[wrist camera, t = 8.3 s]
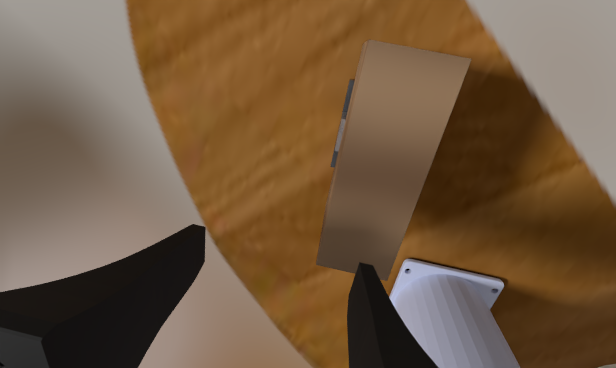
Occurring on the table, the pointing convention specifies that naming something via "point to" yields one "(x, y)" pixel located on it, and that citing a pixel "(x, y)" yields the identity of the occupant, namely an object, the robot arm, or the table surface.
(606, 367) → the cylinder with rectangular tab
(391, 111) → the rectangular block
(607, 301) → the table surface
